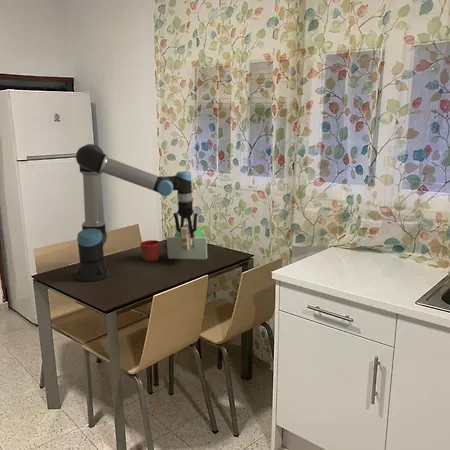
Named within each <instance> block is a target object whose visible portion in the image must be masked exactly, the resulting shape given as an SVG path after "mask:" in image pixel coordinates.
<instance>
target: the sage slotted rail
mask: <svg viewBox="0 0 450 450" xmlns="http://www.w3.org/2000/svg"><path fill="white" fill-rule="evenodd" d="M166 245H167V246H166V247H167V259H177V260H178V259H180V260H185V259H186V260H188V259H189V260H207V259H208V238H207V236H204V237H195V238H194V247H190V248H189V249H188V251H182V245H181V238H180V237H179V236H175V235H174V236H173V235H172V236H170V235H168V236H167V237H166Z"/></svg>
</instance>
